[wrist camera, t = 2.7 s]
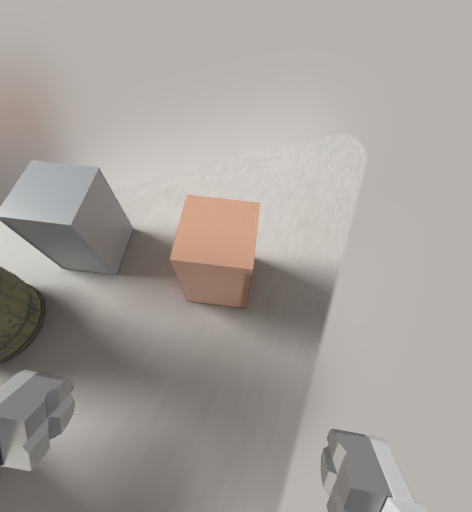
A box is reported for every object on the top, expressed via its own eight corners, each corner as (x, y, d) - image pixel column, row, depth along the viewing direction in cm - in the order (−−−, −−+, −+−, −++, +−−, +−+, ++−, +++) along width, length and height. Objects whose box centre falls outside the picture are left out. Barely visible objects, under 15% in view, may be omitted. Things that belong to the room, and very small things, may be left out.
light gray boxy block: (116, 274, 30) (70, 225, 22) (61, 268, 31) (-6, 216, 22) (133, 228, 33) (99, 167, 25) (83, 222, 34) (31, 160, 25)
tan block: (245, 308, 29) (253, 269, 20) (187, 300, 29) (169, 259, 20) (251, 256, 32) (259, 203, 23) (198, 250, 32) (186, 194, 23)
